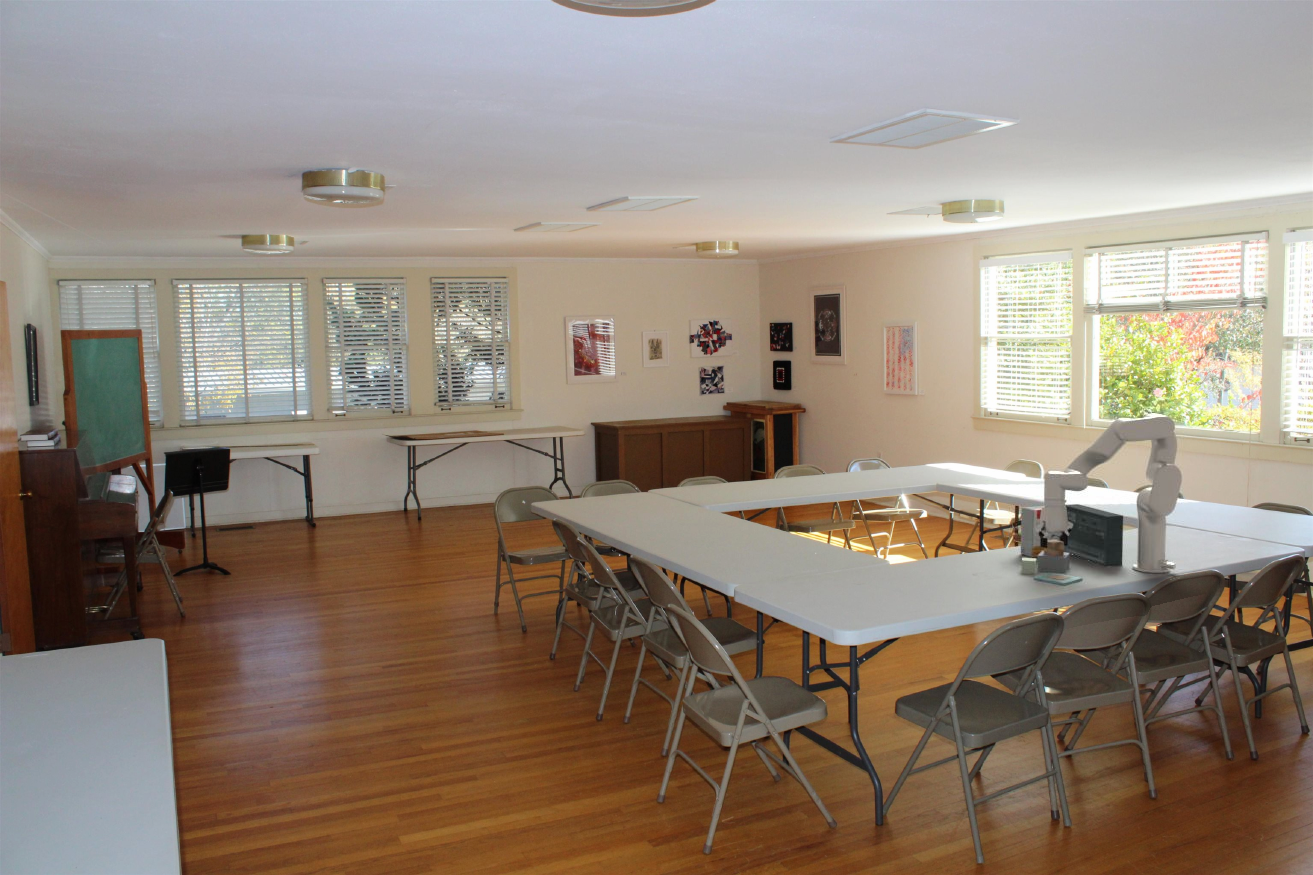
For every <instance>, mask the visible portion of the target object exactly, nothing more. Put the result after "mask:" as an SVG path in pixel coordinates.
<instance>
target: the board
mask: <svg viewBox="0 0 1313 875" xmlns="http://www.w3.org/2000/svg"><path fill="white" fill-rule="evenodd" d="M1033 578H1034V580H1035V579H1036V580H1035V581H1040V580H1042V581H1041V582H1046V583H1052V584H1055V583H1056V585H1060V586H1067V585H1071V584H1074V583H1077V582H1080V581H1083V577H1080V576H1073V575H1070V574H1064V573H1060V572H1055V571H1050V572H1048V573H1045V574H1041V575H1037V576H1034V577H1033Z"/></svg>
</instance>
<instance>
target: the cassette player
mask: <svg viewBox="0 0 1313 875" xmlns="http://www.w3.org/2000/svg"><path fill="white" fill-rule="evenodd" d="M1065 506H1066V509H1067V517H1068V521H1069V522H1071V523H1073V527H1072V530H1071V532H1070V533H1069V536H1068V546H1064V552H1067V553H1070V555H1071V554H1073V555H1072V556H1074V555H1075V556H1074V557H1077V558H1079V557H1080V559H1082V560H1086V561H1088V560H1089V561H1088V562H1091V563H1094V564H1097V563H1098V564H1097V565H1099V566H1103V567H1105V566H1106V568H1108V567H1107V566H1110V567H1123V550H1124V549H1123V546H1124V544H1123V541H1124V540H1123V539H1124V515H1122V514H1117V513H1114V512H1110V511H1106V510H1102V509H1099V508H1094V507H1090V506H1087V505H1084V504H1079V503H1076V504H1065Z"/></svg>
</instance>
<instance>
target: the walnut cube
mask: <svg viewBox="0 0 1313 875" xmlns="http://www.w3.org/2000/svg"><path fill="white" fill-rule="evenodd" d="M1044 553H1045V554H1048V555H1052V556H1055V555H1064V542H1062V541H1058V540H1047V548H1044Z"/></svg>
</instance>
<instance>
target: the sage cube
mask: <svg viewBox="0 0 1313 875" xmlns="http://www.w3.org/2000/svg"><path fill="white" fill-rule="evenodd" d="M1030 573H1034V575H1036V574H1037V557H1022V558H1021V574H1030Z"/></svg>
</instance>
